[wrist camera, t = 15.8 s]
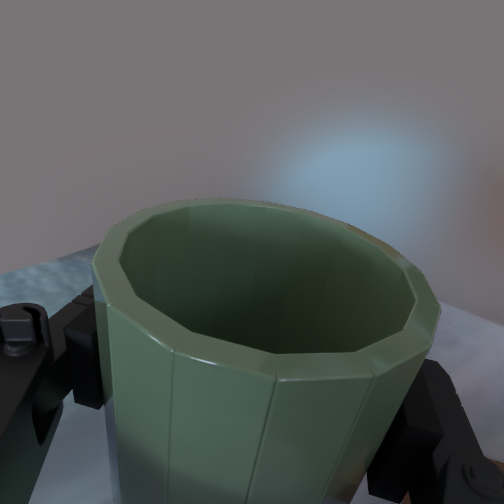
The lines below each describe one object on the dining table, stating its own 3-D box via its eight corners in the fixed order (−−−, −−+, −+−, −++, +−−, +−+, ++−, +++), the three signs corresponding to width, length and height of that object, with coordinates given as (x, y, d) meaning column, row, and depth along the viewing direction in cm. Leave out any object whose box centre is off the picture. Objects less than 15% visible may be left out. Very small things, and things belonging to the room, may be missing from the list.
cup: (325, 427, 15) (400, 228, 10) (320, 684, 8) (517, 446, 4) (173, 383, 16) (183, 183, 11) (64, 583, 9) (-14, 299, 5)
